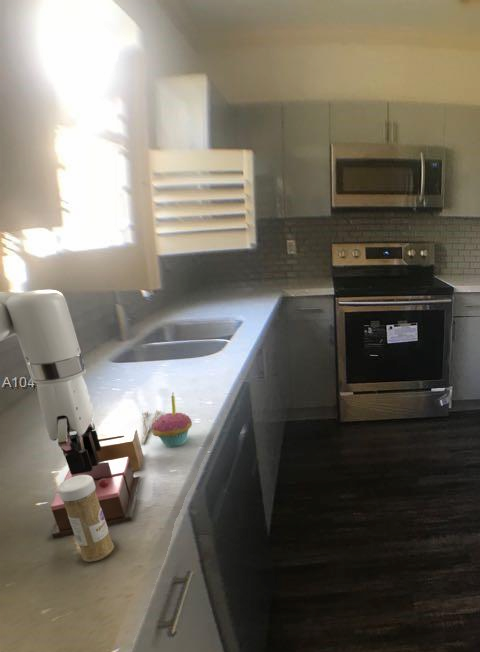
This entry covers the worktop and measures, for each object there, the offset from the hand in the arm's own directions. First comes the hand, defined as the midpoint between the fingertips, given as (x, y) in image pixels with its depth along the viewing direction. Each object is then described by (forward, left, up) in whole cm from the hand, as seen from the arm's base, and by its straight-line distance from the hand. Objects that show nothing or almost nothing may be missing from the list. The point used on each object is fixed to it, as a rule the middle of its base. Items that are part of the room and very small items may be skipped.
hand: (86, 460), depth 82 cm
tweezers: (+5, +32, -10) cm, 34 cm away
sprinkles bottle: (+2, -14, -10) cm, 17 cm away
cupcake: (+12, +21, -10) cm, 26 cm away
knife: (0, 0, -9) cm, 9 cm away
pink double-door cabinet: (0, 0, -10) cm, 10 cm away
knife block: (0, +14, -10) cm, 17 cm away
